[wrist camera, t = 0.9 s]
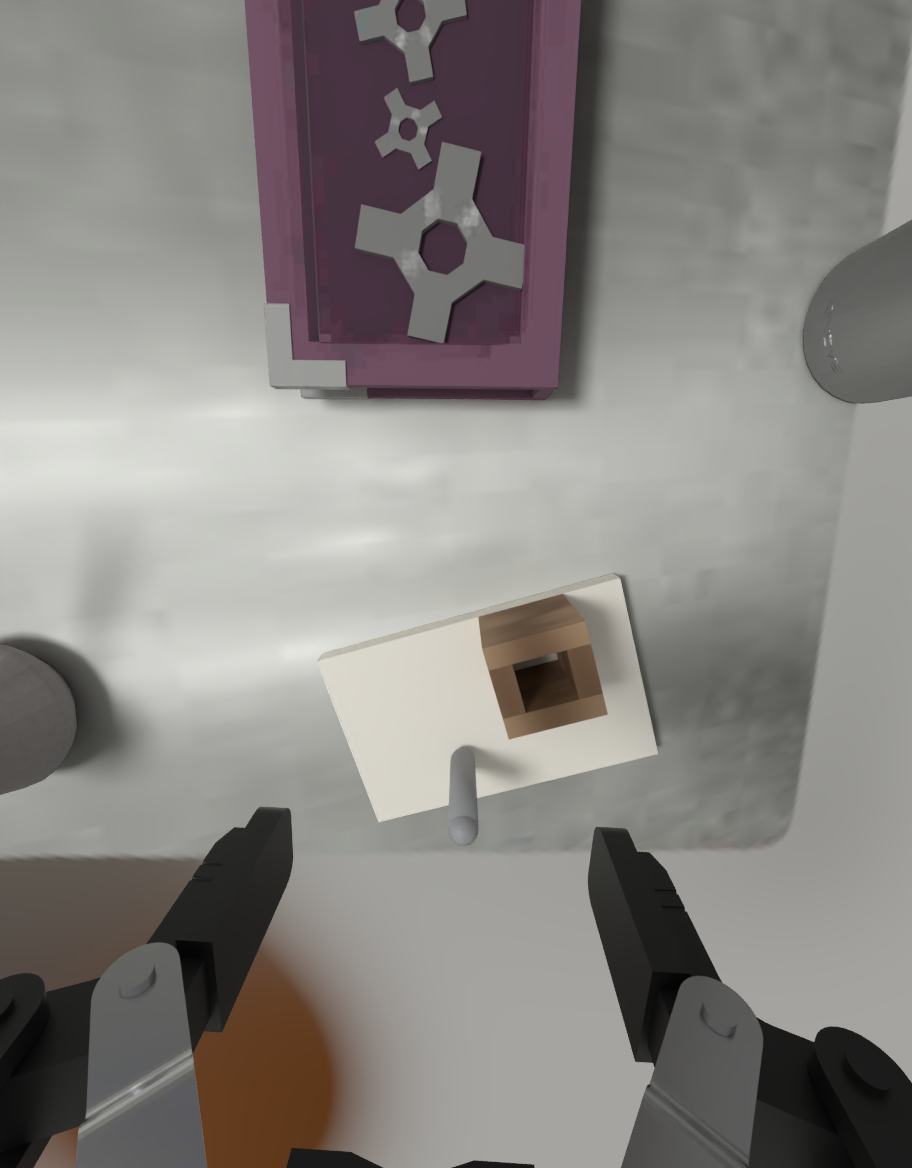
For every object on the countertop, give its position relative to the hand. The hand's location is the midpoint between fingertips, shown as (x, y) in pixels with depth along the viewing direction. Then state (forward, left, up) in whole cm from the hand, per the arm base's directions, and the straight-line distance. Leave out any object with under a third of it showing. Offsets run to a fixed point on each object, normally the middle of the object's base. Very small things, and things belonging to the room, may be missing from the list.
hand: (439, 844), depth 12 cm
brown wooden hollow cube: (-5, +4, -20) cm, 21 cm away
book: (-6, -26, -23) cm, 35 cm away
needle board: (-1, +8, -22) cm, 23 cm away
